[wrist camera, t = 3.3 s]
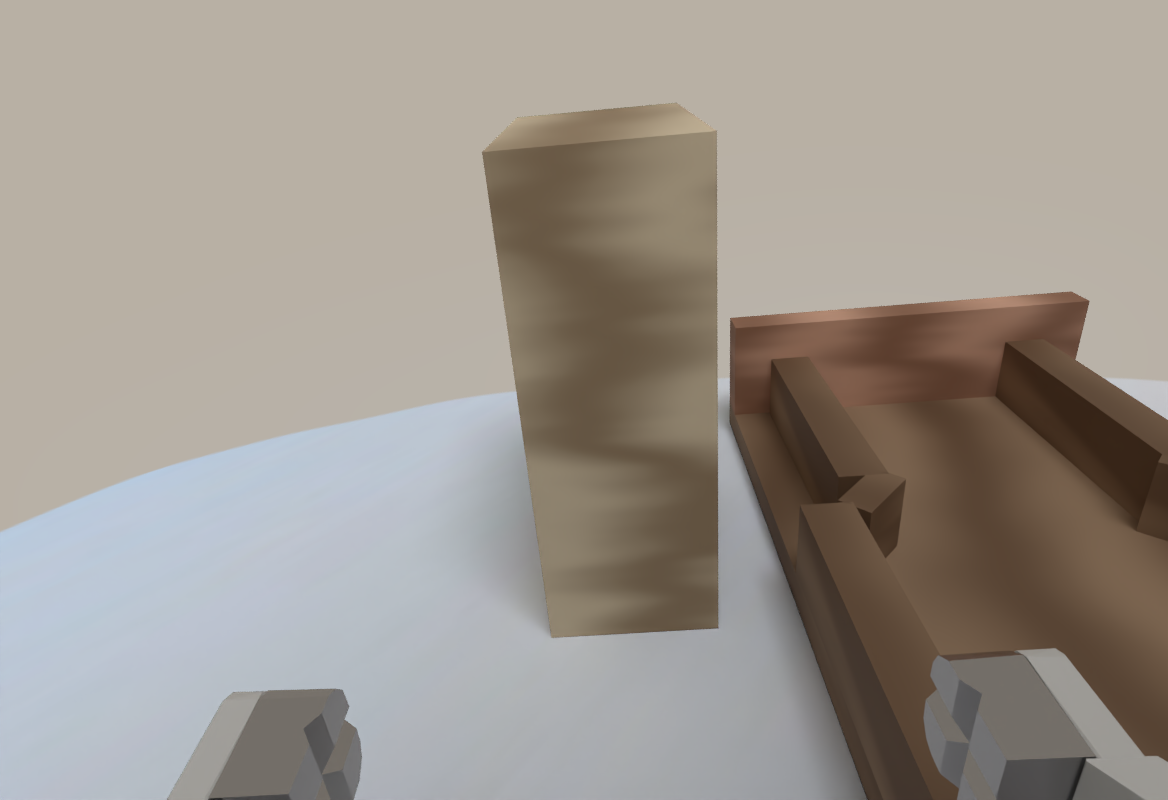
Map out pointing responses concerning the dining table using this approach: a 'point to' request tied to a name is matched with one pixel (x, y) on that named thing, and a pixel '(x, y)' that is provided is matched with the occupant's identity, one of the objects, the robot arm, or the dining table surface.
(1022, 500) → the channel
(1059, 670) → the robot arm
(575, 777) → the dining table surface
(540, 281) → the panel block
